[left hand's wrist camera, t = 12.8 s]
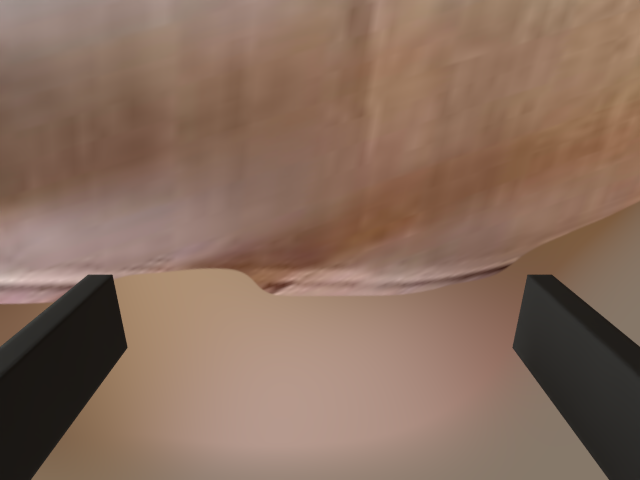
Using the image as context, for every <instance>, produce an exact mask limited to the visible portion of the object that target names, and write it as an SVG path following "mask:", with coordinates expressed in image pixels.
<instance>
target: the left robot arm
mask: <svg viewBox="0 0 640 480" xmlns="http://www.w3.org/2000/svg"><path fill="white" fill-rule="evenodd" d="M126 349H127V343H126V338H125V333H124V329H123V324H122V319H121V314H120V309H119V304H118V299H117V295H116V290H115V285H114V280H113V275H87V276H86V277H85V278H84V279H82V280H81V281H80V282H79V283H78V284H76V285H75V286H74V287H73V288H71V289H70V290H69V291H68V292H67V293H65V294H64V295H63V296H62V297H60V298H59V299H58V300H57V301H56V302H54V303H53V304H52V305H51V306H50V307H48V308H47V309H46V310H45V311H43V312H42V313H41V314H40V315H38V316H37V317H36V318H35V319H34V320H32V321H31V322H30V323H29V324H28V325H26V326H25V327H24V328H23V329H21V330H20V331H19V332H18V333H17V334H15V335H14V336H13V337H12V338H11V339H9V340H8V341H7V342H6V343H4V344H3V345H2V346H1V347H0V480H31V479H32V477H33V476H34V475H35V473H36V472H37V471H38V469H39V468H40V466H41V465H42V464H43V462H44V461H45V460H46V458H47V457H48V456H49V454H50V453H51V451H52V450H53V449H54V447H55V446H56V445H57V443H58V442H59V441H60V439H61V438H62V436H63V435H64V434H65V432H66V431H67V430H68V428H69V427H70V425H71V424H72V423H73V421H74V420H75V419H76V417H77V416H78V414H79V413H80V412H81V410H82V409H83V408H84V406H85V405H86V404H87V402H88V401H89V400H90V398H91V397H92V395H93V394H94V393H95V391H96V390H97V389H98V387H99V386H100V385H101V383H102V382H103V380H104V379H105V378H106V376H107V375H108V374H109V372H110V371H111V369H112V368H113V367H114V365H115V364H116V363H117V361H118V360H119V359H120V357H121V356H122V354H123V353H124V352H125V350H126ZM513 349H514V350H515V352H516V353H517V354H518V356H519V357H520V359H521V360H522V361H523V363H524V364H525V365H526V367H527V368H528V369H529V371H530V372H531V374H532V375H533V376H534V378H535V379H536V380H537V382H538V383H539V384H540V386H541V387H542V389H543V390H544V391H545V393H546V394H547V395H548V397H549V398H550V400H551V401H552V402H553V404H554V405H555V406H556V408H557V409H558V410H559V412H560V413H561V415H562V416H563V417H564V419H565V420H566V421H567V423H568V424H569V426H570V427H571V428H572V430H573V431H574V432H575V434H576V435H577V436H578V438H579V439H580V441H581V442H582V443H583V445H584V446H585V447H586V449H587V450H588V451H589V453H590V454H591V456H592V457H593V458H594V460H595V461H596V462H597V464H598V465H599V467H600V468H601V469H602V471H603V472H604V473H605V475H606V476H607V477H608V479H609V480H640V347H639V346H638V345H637V344H636V343H634V342H633V341H632V340H631V339H630V338H628V337H627V336H626V335H625V334H623V333H622V332H621V331H620V330H619V329H617V328H616V327H615V326H614V325H612V324H611V323H610V322H609V321H608V320H606V319H605V318H604V317H603V316H601V315H600V314H599V313H598V312H597V311H595V310H594V309H593V308H592V307H590V306H589V305H588V304H587V303H586V302H584V301H583V300H582V299H581V298H580V297H578V296H577V295H576V294H575V293H573V292H572V291H571V290H570V289H569V288H567V287H566V286H565V285H564V284H562V283H561V282H560V281H559V280H558V279H556V278H555V277H554V276H553V275H527V280H526V285H525V290H524V295H523V299H522V304H521V309H520V314H519V319H518V324H517V328H516V333H515V338H514V343H513Z"/></svg>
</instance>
